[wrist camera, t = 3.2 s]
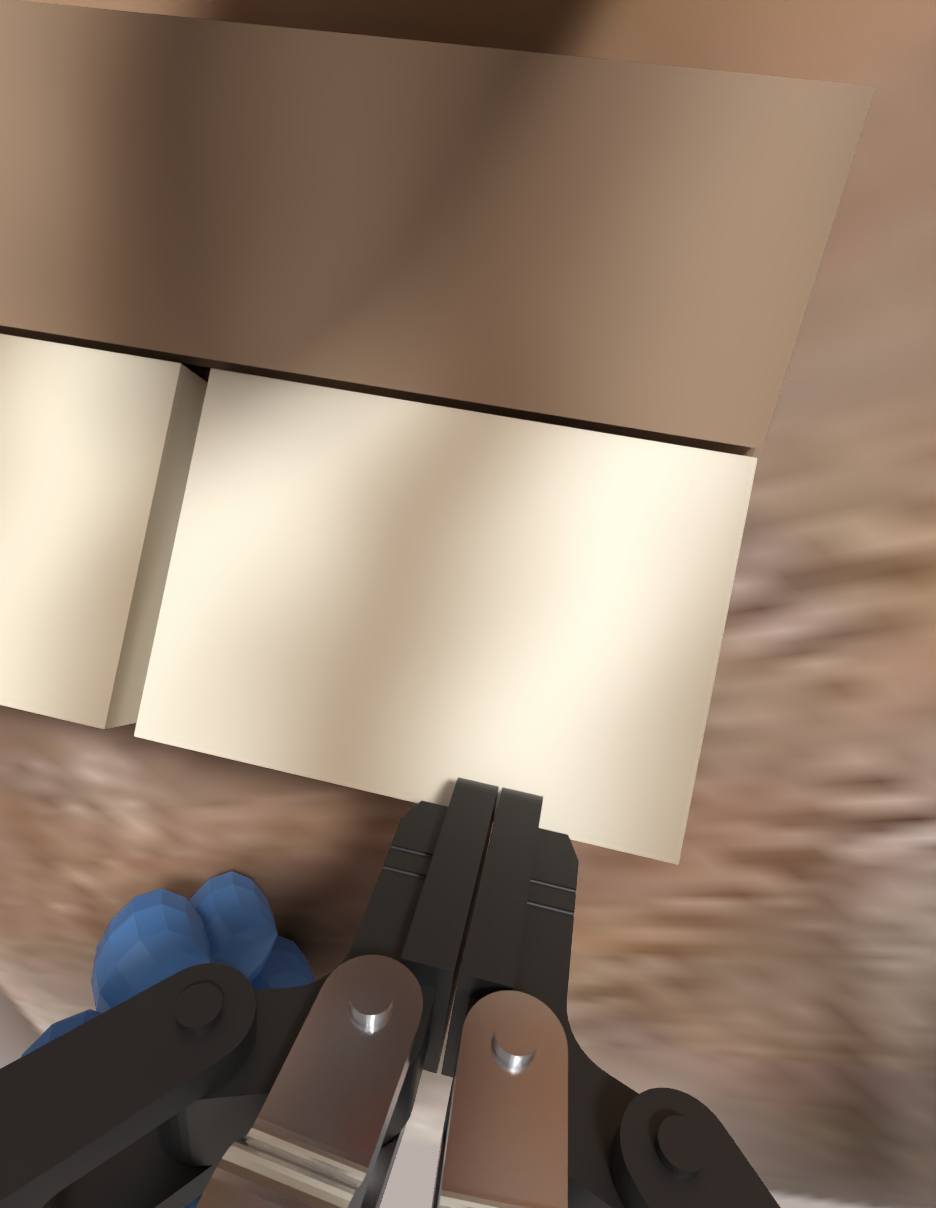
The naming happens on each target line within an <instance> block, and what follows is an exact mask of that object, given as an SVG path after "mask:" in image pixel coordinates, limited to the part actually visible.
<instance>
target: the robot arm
mask: <svg viewBox="0 0 936 1208" xmlns="http://www.w3.org/2000/svg"><path fill="white" fill-rule="evenodd" d="M498 789H499V786H494V785H490V784H486V783H481V782H477V781H473V780H468V779H464V778H460V777H458V779H457V781H456V784H455V787H454V791H453V794H452V797H451V800H450V803H449V806H448V807H447V806H443V805H439V804H435V803H430V802H426V801H421V802H419V803H418V804H417V805H416V806H415V807H414V808H413V809H412V810H411V811H410V812H409V813H408V814H407V815H406V816H404V817H403V818H402V819H401V822H400V824H399V827H398V830H397V832H396V835H395V837H394V840H393V842H392V846H391V849H390V850H389V853H388V855H387V858H386V860H385V863H384V867H383V870H382V871H381V873H380V876H379V879H378V881H377V884H376V886H375V889H374V891H373V894H372V897H371V899H370V902H369V904H368V907H367V909H366V912H365V915H364V917H363V920H362V922H361V925H360V928H359V930H358V933H357V935H356V938H355V940H354V943H353V946H352V948H351V950H350V952H349V954H348V955H347V957H346V958H345V959H344V961H343V962H342V963H341V964H340V965H339V966H338V967H337V968H336V969H335V970H334V971H332V972H331V973H330V974H328V975H327V976H325V977H323V978H322V979H320V980H317V981H315V982H313V983H310V984H306V985H303V986H297V987H288V988H273V989H258V990H254V989H253V987H252V985H251V983H250V981H249V980H248V979H247V978H246V976H245V975H243V974H242V973H241V972H240V971H238V970H237V969H235V968H233V967H230V966H227V965H224V964H218V963H205V964H199V965H194V966H191V967H188V968H186V969H183V970H181V971H179V972H177V973H175V974H173V975H172V976H170V977H168V978H166V979H164V980H162V981H161V982H159V983H157V984H155V985H153V986H151V987H150V988H148V989H146V990H144V991H142V992H140V993H139V994H137V995H135V996H133V997H131V998H129V999H128V1000H126V1001H124V1002H122V1003H120V1004H118V1005H117V1006H115V1007H113V1008H111V1009H109V1010H107V1011H106V1012H104V1013H102V1014H100V1015H98V1016H96V1017H95V1018H93V1019H91V1020H89V1021H87V1022H85V1023H84V1024H82V1025H80V1026H78V1027H76V1028H74V1029H73V1030H71V1031H69V1032H67V1033H65V1034H63V1035H62V1036H60V1037H58V1038H56V1039H54V1040H52V1041H51V1042H49V1043H47V1044H45V1045H43V1046H41V1047H40V1048H38V1049H36V1050H34V1051H32V1052H30V1053H29V1054H27V1055H25V1056H23V1057H21V1058H20V1059H18V1060H16V1061H14V1062H12V1063H10V1064H9V1065H7V1066H5V1067H3V1068H1V1069H0V1208H183V1207H185V1206H186V1205H187V1204H189V1203H190V1202H191V1201H193V1200H194V1199H196V1198H197V1197H198V1196H200V1195H201V1194H202V1193H203V1194H202V1196H201V1198H200V1200H199V1202H198V1204H197V1206H196V1208H379V1207H380V1204H381V1201H382V1198H383V1195H384V1191H385V1188H386V1185H387V1182H388V1179H389V1176H390V1173H391V1170H392V1167H393V1164H394V1161H395V1157H396V1155H397V1151H398V1148H399V1145H400V1142H401V1139H402V1136H403V1133H404V1130H405V1126H406V1123H407V1121H408V1119H409V1117H410V1115H411V1112H412V1109H413V1105H414V1101H415V1097H416V1093H417V1089H418V1085H419V1081H420V1077H421V1073H422V1069H423V1070H427V1071H430V1072H434V1073H437V1069H438V1065H439V1061H440V1056H441V1052H442V1048H443V1043H444V1039H445V1035H446V1030H447V1026H448V1022H449V1017H450V1013H451V1009H452V1004H453V1000H454V1005H453V1011H452V1016H451V1022H450V1027H449V1033H448V1039H447V1044H446V1050H445V1056H444V1061H443V1067H442V1072H441V1074H443V1075H446V1076H450V1077H453V1081H452V1086H451V1091H450V1096H449V1101H448V1107H447V1112H446V1117H445V1123H444V1128H443V1133H442V1138H441V1144H440V1151H439V1159H438V1166H437V1173H436V1181H435V1187H434V1194H433V1202H432V1208H780V1207H779V1205H778V1204H777V1202H776V1201H775V1199H774V1198H773V1196H772V1195H771V1194H770V1192H769V1191H768V1189H767V1188H766V1186H765V1185H764V1183H763V1182H762V1181H761V1179H760V1178H759V1176H758V1175H757V1173H756V1172H755V1171H754V1169H753V1168H752V1166H751V1165H750V1163H749V1162H748V1161H747V1159H746V1158H745V1156H744V1155H743V1153H742V1152H741V1151H740V1149H739V1148H738V1146H737V1145H736V1143H735V1142H734V1140H733V1139H732V1138H731V1136H730V1135H729V1133H728V1132H727V1130H726V1129H725V1128H724V1126H723V1125H722V1123H721V1122H720V1121H719V1120H718V1118H717V1117H716V1116H715V1115H714V1114H713V1113H712V1112H711V1111H710V1110H709V1109H708V1108H707V1107H706V1106H705V1105H704V1104H702V1103H701V1102H700V1101H698V1100H697V1099H695V1098H694V1097H692V1096H690V1095H689V1094H686V1093H684V1092H681V1091H679V1090H675V1089H670V1088H654V1089H649V1090H647V1091H644V1092H642V1093H640V1094H638V1093H637V1092H635V1091H634V1090H632V1089H630V1088H629V1087H627V1086H626V1085H624V1084H623V1083H621V1082H620V1081H618V1080H617V1079H615V1078H614V1077H612V1076H610V1075H609V1074H607V1073H606V1072H605V1071H603V1070H602V1069H601V1068H599V1067H598V1066H597V1065H596V1064H595V1063H593V1062H592V1061H591V1060H590V1059H589V1058H588V1056H587V1055H586V1054H585V1053H584V1052H583V1050H582V1049H581V1048H580V1046H579V1044H578V1043H577V1041H576V1040H575V1037H574V1035H573V1033H572V1031H571V1028H570V1025H569V1021H568V1016H567V991H568V979H569V968H570V956H571V944H572V932H573V921H574V917H573V916H574V909H575V897H576V894H575V892H576V885H577V874H578V862H579V861H578V859H577V856H576V854H575V851H574V849H573V846H572V843H571V841H570V838H569V836H568V835H567V834H563V833H559V832H554V831H550V830H546V829H542V828H539V822H540V815H541V809H542V803H543V796H539V795H534V794H530V793H526V792H521V791H517V790H513V789H508V788H504V787H502V790H501V795H500V799H499V803H498V808H497V812H496V816H495V820H494V825H493V829H492V833H491V828H492V822H493V817H494V811H495V806H496V800H497V795H498ZM490 833H491V838H490ZM489 838H490V842H489ZM488 844H489V846H488ZM487 849H488V851H487ZM486 854H487V855H486ZM456 987H457V988H456ZM455 991H456V994H455ZM454 996H455V999H454Z"/></svg>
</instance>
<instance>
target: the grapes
mask: <svg viewBox="0 0 936 1208" xmlns="http://www.w3.org/2000/svg"><path fill="white" fill-rule="evenodd" d="M277 934H278V933H277V928H276V923H275V919H274V916H273V913H272V911H271V908H270V905H269V902H268V900H267V897H266V896H265V895H264V894H263V892H262V891H261V890H260V888H259V887H258V886H257V885H256V883H255V882H254V881H253V879H251V878H248V877H246V876H243V875H240V874H238V873H235V872H233V871H231V872H228V873H225V874H222V875H219V876H216V877H213V878H210V879H209V880H208V881H207V882H206V883H205V884H204V885H203V886H202V887H201V888H200V889H199V890H198V891H197V892H196V893H195V894H194V895H193V896H192V897H191V898H190V900H189V901H188V900H187V898H186V897H184V896H181V895H178V894H176V893H173V892H170V891H167V890H165V889H159V890H155V891H152V892H149V893H146V894H143V895H139V896H136V897H134V898H133V899H132V900H131V901H130V902H129V903H128V904H127V905H126V906H125V907H124V908H123V909H122V910H121V911H120V912H119V913H118V914H117V915H116V916H115V917H114V918H113V919H112V920H111V921H110V923H109V925H108V927H107V929H106V931H105V933H104V934H103V936H102V938H101V940H100V942H99V944H98V946H97V950H96V955H95V960H94V966H93V973H92V979H91V984H92V990H93V995H94V1000H95V1006H96V1010H97V1011H93V1010H90V1009H89V1010H87V1011H84V1012H81V1013H79V1014H76V1015H74V1016H71V1017H68V1018H66V1019H63V1020H61V1021H58V1022H56V1023H54V1024H52V1025H51V1026H50V1027H49V1028H48V1029H47V1030H46V1031H45V1032H44V1033H43V1034H42V1035H41V1036H40V1037H39V1038H38V1039H37V1040H36V1041H35V1042H34V1043H33V1044H32V1045H31V1046H30V1047H29V1048H28V1049H27V1050H26V1051H25V1052H24V1053H23V1054H22V1057H23V1056H25V1055H27V1054H29V1053H30V1052H32V1051H34V1050H36V1049H38V1048H40V1047H41V1046H43V1045H45V1044H47V1043H49V1042H51V1041H52V1040H54V1039H56V1038H58V1037H60V1036H62V1035H63V1034H65V1033H67V1032H69V1031H71V1030H73V1029H74V1028H76V1027H78V1026H80V1025H82V1024H84V1023H85V1022H87V1021H89V1020H91V1019H93V1018H95V1017H96V1016H98V1015H100V1014H102V1013H104V1012H106V1011H107V1010H109V1009H111V1008H113V1007H115V1006H117V1005H118V1004H120V1003H122V1002H124V1001H126V1000H128V999H129V998H131V997H133V996H135V995H137V994H139V993H140V992H142V991H144V990H146V989H148V988H150V987H151V986H153V985H155V984H157V983H159V982H161V981H162V980H164V979H166V978H168V977H170V976H172V975H173V974H175V973H177V972H179V971H181V970H183V969H186V968H188V967H191V966H194V965H199V964H205V963H218V964H224V965H227V966H230V967H233V968H235V969H237V970H238V971H240V972H241V973H242V974H243V975H245V976H246V978H247V979H248V980H249V981H250V983H251V985H252V987H253V989H254V990H258V989H273V988H288V987H297V986H303V985H306V984H310V983H313V982H315V978H314V976H313V973H312V970H311V968H310V965H309V963H308V960H307V958H306V957H305V956H304V954H303V953H302V952H301V950H300V949H299V948H298V947H297V945H296V944H295V943H294V941H291V940H289V939H286V938H283V937H280V936H278V935H277ZM202 1194H203V1193H202ZM202 1194H201V1195H200V1196H198V1197H197V1198H196V1199H194V1200H193V1201H191V1202H190V1203H189V1204H187V1205H186V1206H185V1207H183V1208H196V1206H197V1204H198V1202H199V1200H200V1198H201V1196H202Z"/></svg>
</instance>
